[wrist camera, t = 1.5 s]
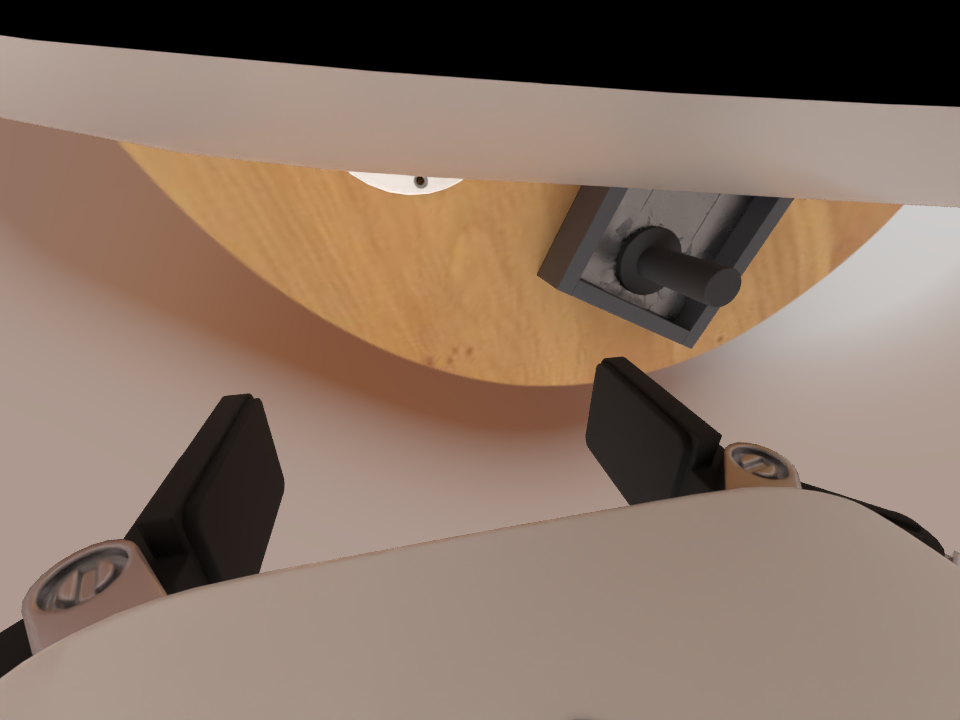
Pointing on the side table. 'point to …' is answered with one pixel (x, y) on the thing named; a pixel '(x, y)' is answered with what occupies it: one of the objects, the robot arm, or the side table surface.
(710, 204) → the plate
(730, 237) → the sink basin
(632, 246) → the plug
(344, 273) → the side table surface
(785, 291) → the side table surface
